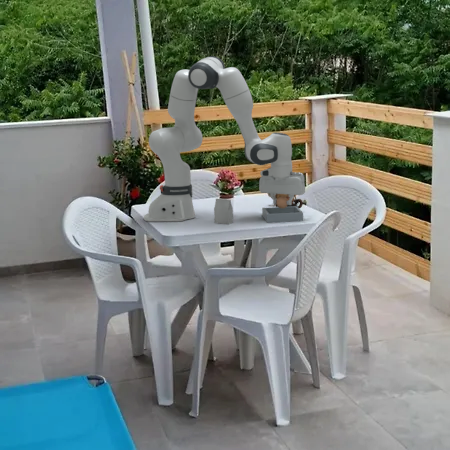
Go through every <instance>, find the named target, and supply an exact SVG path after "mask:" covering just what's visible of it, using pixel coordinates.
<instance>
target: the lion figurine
mask: <svg viewBox="0 0 450 450" xmlns="http://www.w3.org/2000/svg"><path fill="white" fill-rule="evenodd" d="M266 194H267V196H268V198H271V193H266ZM287 196H289V195H288V194H276V195H275V197H276V199H278V198H279V197H287ZM296 196H297V195H294V198H293V200H296V199H297V197H296ZM299 204H300V202H298V204H297V205H299ZM273 205H274V206H276V204H273Z"/></svg>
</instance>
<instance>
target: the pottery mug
mask: <svg viewBox="0 0 450 450" xmlns="http://www.w3.org/2000/svg"><path fill="white" fill-rule="evenodd" d="M286 198H287V199H288V200H289V198H290V197H289V196H287V197H286ZM298 202H299V204H298ZM303 205H304V202H303V200H302V199H301V198H296V200H293V199H292V204H291V205H288V206H287V207H292V206H297V207H298V208H299V209H301V208H302V207H303ZM275 207H278V206H277V204H276V205H275Z"/></svg>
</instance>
